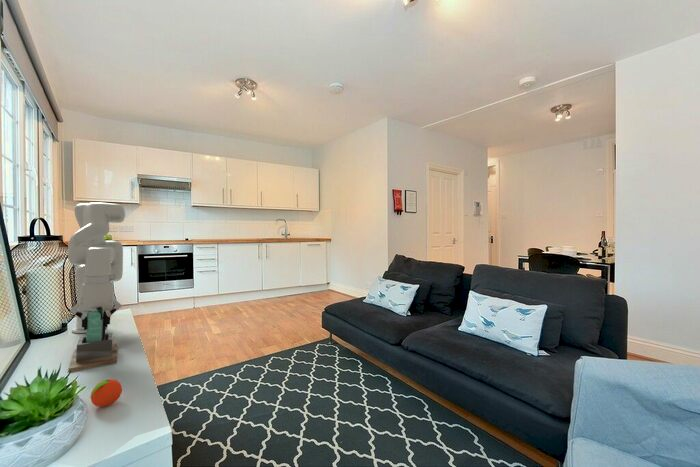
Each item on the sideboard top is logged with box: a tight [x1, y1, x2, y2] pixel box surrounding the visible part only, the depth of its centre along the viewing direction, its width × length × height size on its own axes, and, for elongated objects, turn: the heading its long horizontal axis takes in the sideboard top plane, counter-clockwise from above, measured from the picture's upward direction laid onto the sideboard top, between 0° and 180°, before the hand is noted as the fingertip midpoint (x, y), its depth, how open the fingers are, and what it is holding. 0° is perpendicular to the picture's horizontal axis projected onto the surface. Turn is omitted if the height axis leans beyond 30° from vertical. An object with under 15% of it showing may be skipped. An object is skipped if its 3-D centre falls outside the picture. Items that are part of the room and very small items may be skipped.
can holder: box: [67, 332, 118, 373], centre depth 115 cm, size 20×13×7 cm, turn 37°
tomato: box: [90, 378, 123, 408], centre depth 84 cm, size 8×7×7 cm
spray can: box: [85, 307, 106, 343], centre depth 115 cm, size 6×6×20 cm
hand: (96, 327), depth 115 cm, fingers closed on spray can, 5 cm apart
